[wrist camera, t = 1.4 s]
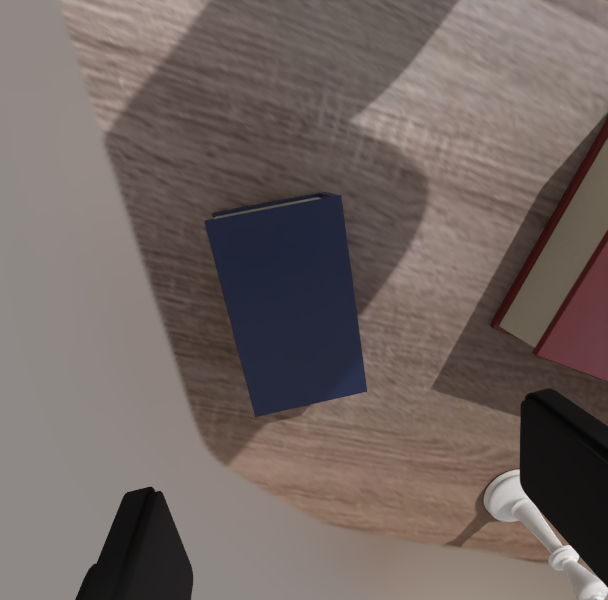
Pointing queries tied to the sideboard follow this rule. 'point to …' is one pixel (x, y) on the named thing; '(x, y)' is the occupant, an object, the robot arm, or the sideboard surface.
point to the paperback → (290, 300)
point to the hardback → (568, 276)
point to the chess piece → (540, 533)
